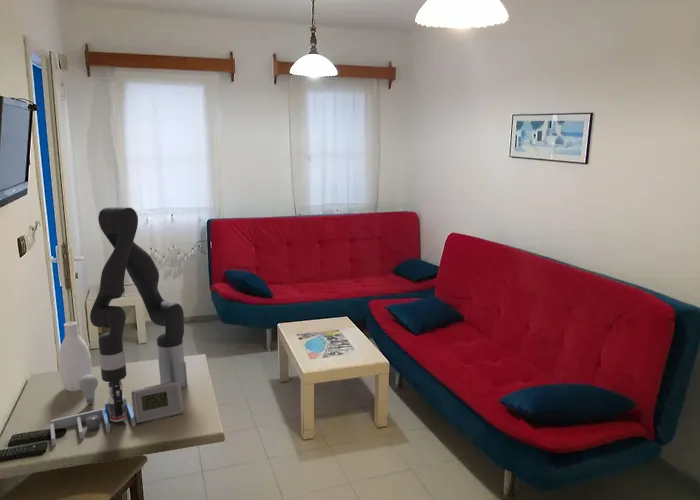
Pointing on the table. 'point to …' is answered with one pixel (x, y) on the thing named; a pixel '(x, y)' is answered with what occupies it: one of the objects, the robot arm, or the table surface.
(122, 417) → the pill bottle
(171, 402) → the digital clock
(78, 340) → the bottle
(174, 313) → the robot arm
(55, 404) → the table surface
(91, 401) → the lightbulb
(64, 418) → the pronged rack
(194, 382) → the table surface
